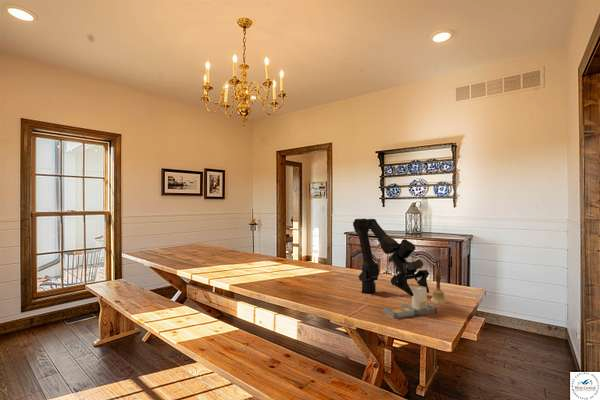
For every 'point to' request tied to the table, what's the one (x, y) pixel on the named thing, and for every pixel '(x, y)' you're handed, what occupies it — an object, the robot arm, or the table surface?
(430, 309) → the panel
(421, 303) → the cream rectangular block
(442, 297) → the hand bell
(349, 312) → the table surface
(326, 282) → the table surface
